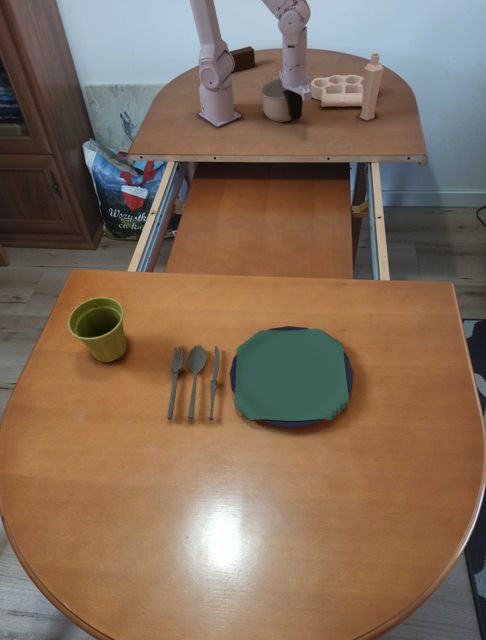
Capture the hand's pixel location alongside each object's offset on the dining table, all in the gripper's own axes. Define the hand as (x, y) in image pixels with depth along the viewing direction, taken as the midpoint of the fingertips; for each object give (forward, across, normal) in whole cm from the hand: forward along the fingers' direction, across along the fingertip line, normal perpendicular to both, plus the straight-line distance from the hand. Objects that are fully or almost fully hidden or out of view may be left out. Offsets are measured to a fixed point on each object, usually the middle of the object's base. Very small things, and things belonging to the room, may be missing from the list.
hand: (294, 117), depth 129 cm
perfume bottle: (+3, -4, -18) cm, 19 cm away
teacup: (+2, +8, 0) cm, 8 cm away
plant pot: (+2, -54, +62) cm, 82 cm away
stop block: (+2, +40, +1) cm, 40 cm away
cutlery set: (+3, -71, +39) cm, 81 cm away
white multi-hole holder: (+3, +8, -18) cm, 20 cm away
